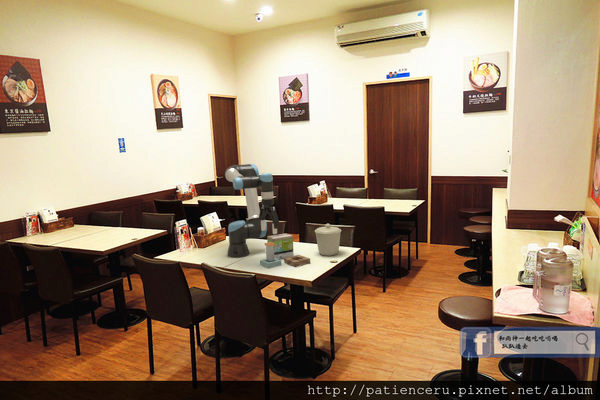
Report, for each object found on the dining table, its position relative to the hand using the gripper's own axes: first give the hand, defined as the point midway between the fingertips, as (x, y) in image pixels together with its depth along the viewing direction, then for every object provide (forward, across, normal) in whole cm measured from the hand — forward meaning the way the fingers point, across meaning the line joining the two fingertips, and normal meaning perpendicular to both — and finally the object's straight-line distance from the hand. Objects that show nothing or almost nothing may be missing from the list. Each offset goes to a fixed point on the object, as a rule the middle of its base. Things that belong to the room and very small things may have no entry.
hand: (269, 232), depth 251 cm
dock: (+22, +8, +15) cm, 27 cm away
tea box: (+22, -11, +15) cm, 29 cm away
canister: (+22, +6, +43) cm, 49 cm away
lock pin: (+22, 0, 0) cm, 22 cm away
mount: (+22, 0, 0) cm, 22 cm away
